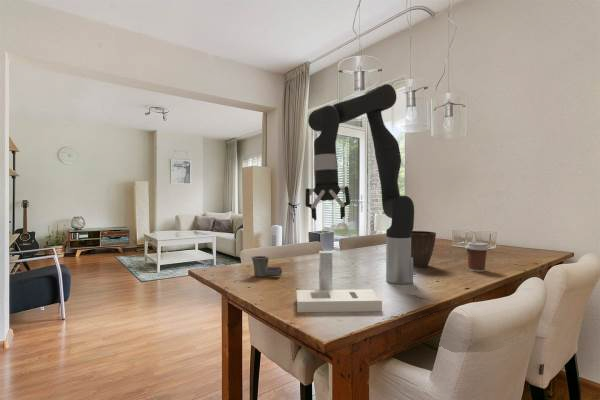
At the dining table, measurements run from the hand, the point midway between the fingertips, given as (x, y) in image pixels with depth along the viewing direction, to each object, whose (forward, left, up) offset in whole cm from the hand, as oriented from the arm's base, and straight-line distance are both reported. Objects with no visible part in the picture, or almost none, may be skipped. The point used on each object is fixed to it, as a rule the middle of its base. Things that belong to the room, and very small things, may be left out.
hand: (328, 219), depth 101 cm
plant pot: (-50, -47, -26) cm, 73 cm away
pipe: (+22, -29, -26) cm, 44 cm away
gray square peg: (0, -5, -25) cm, 26 cm away
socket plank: (-2, +7, -25) cm, 26 cm away
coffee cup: (-72, -37, -26) cm, 84 cm away
